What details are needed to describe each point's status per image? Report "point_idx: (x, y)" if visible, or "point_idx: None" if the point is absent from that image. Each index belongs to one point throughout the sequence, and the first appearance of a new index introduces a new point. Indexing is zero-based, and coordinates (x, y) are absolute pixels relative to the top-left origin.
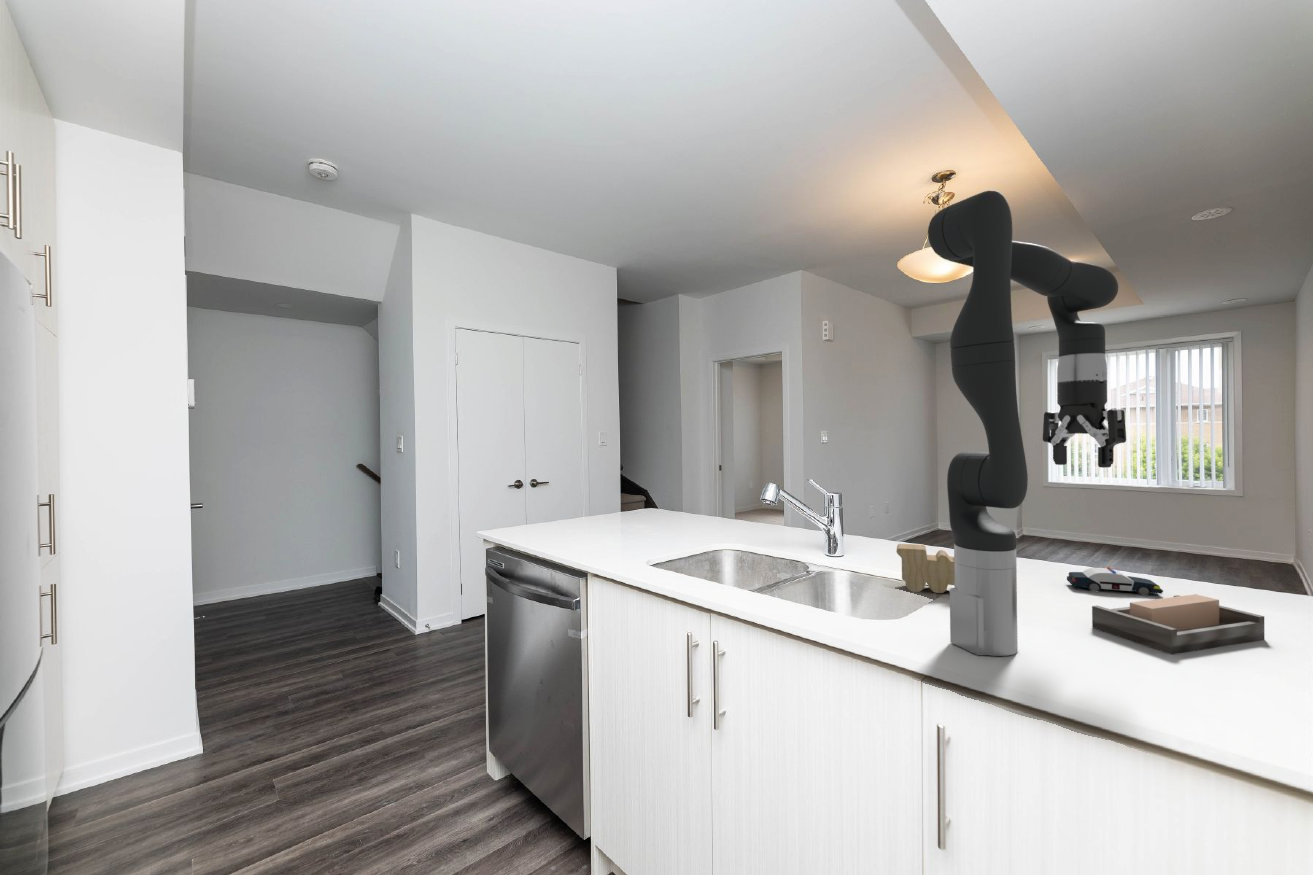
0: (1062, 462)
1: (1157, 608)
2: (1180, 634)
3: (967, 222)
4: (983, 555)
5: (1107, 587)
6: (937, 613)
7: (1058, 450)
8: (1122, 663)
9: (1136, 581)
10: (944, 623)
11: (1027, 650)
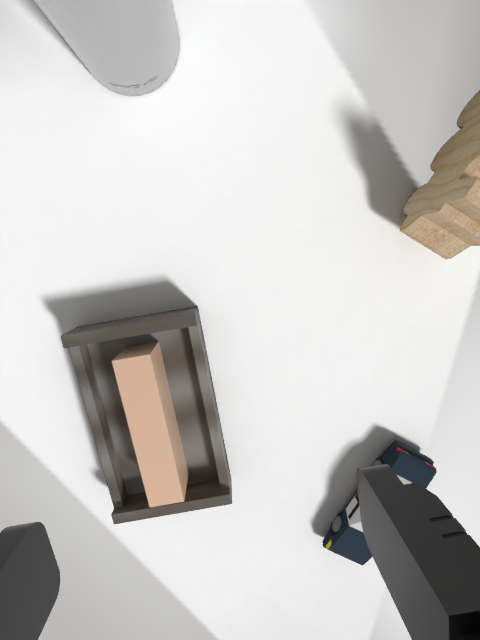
0: (364, 511)
1: (115, 373)
2: (71, 353)
3: None
4: None
5: None
6: (315, 67)
7: (416, 569)
8: (46, 223)
9: (349, 529)
10: (256, 42)
11: (106, 108)
